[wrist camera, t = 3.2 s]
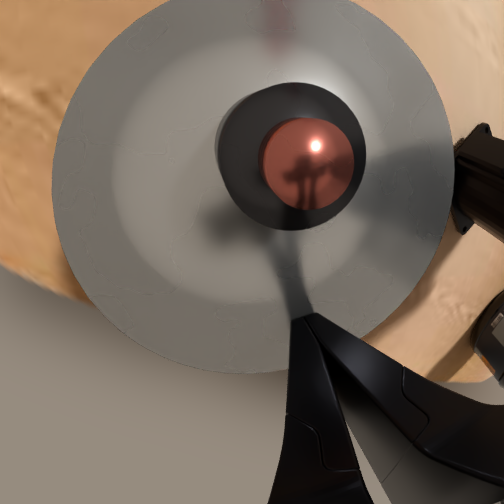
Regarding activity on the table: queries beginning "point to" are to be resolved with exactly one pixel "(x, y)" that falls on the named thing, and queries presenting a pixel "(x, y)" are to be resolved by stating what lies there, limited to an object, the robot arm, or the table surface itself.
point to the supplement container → (491, 338)
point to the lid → (251, 177)
